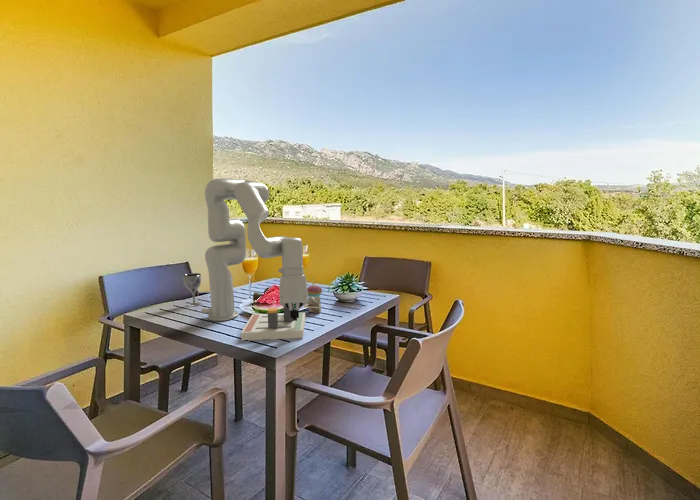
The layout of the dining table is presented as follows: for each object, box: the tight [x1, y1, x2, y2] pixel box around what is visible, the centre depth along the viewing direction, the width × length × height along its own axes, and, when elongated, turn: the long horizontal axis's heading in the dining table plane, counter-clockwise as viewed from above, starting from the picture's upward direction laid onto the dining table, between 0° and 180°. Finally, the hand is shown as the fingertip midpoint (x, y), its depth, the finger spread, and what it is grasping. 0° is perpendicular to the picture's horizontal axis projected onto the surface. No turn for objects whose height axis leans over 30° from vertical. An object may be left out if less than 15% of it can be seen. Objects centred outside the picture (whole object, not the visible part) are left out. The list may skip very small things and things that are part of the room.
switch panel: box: [240, 303, 306, 342], centre depth 145 cm, size 22×22×10 cm
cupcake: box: [307, 278, 323, 298], centre depth 188 cm, size 9×8×12 cm
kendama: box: [252, 286, 272, 302], centre depth 188 cm, size 6×10×20 cm
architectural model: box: [303, 296, 322, 314], centre depth 166 cm, size 3×7×7 cm, turn 75°
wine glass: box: [182, 272, 202, 306], centre depth 183 cm, size 8×8×15 cm
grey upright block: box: [267, 307, 279, 328], centre depth 138 cm, size 3×4×7 cm
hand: (294, 319), depth 138 cm, fingers closed
